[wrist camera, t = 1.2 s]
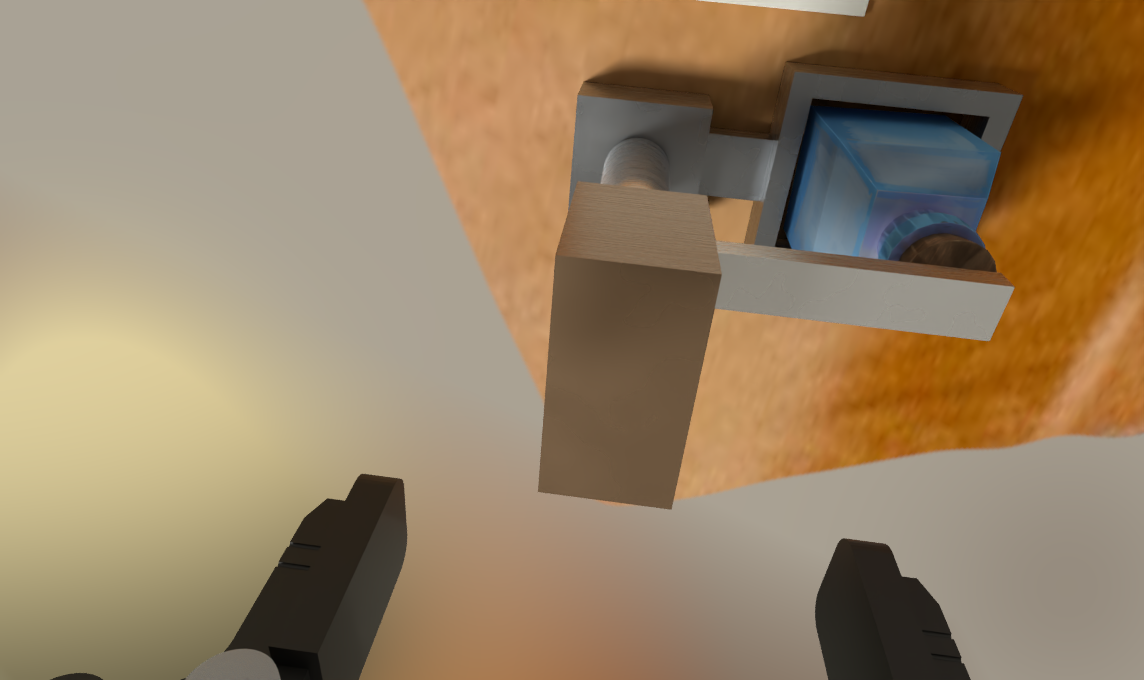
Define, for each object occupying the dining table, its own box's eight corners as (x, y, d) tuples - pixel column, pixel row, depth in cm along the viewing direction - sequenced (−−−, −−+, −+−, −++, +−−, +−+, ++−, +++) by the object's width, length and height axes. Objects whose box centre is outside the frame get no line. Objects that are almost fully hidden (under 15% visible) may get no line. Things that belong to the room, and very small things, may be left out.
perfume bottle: (904, 237, 36) (1005, 365, 25) (783, 227, 36) (833, 349, 26) (944, 114, 32) (1078, 204, 22) (810, 105, 33) (880, 188, 23)
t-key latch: (927, 121, 29) (1214, 332, 14) (876, 269, 33) (1062, 561, 18) (605, 87, 30) (555, 254, 15) (590, 236, 34) (538, 492, 19)
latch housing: (998, 83, 31) (1028, 97, 29) (924, 273, 36) (945, 300, 34) (587, 41, 32) (581, 51, 30) (570, 232, 37) (564, 255, 35)
